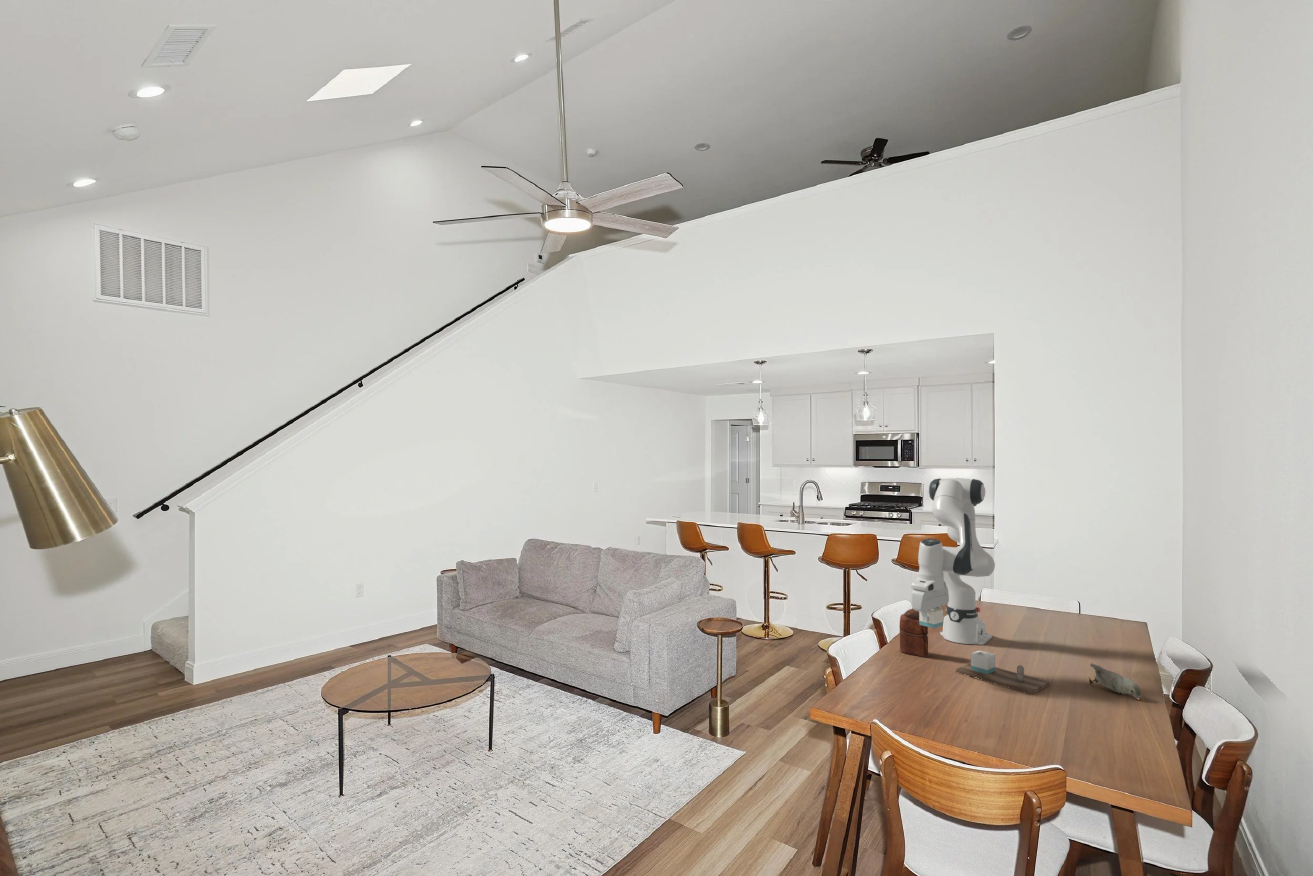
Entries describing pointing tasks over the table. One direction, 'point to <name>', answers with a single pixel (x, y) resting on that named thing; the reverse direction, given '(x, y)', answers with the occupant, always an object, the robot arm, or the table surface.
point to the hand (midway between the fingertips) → (931, 619)
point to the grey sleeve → (983, 662)
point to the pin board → (1008, 678)
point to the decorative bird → (1115, 682)
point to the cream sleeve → (932, 618)
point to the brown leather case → (913, 634)
